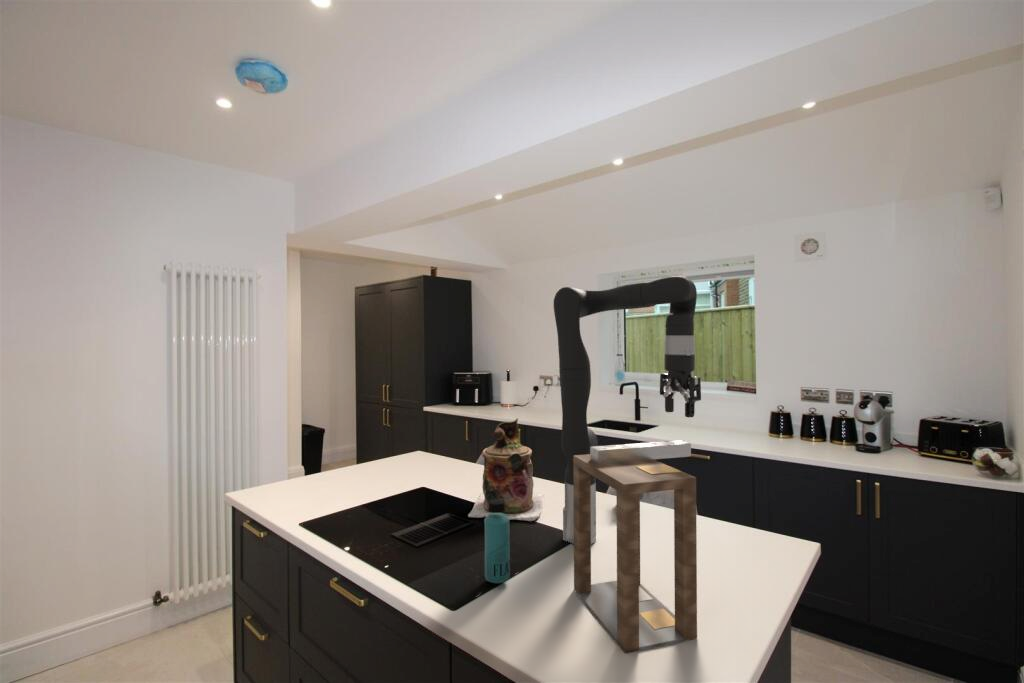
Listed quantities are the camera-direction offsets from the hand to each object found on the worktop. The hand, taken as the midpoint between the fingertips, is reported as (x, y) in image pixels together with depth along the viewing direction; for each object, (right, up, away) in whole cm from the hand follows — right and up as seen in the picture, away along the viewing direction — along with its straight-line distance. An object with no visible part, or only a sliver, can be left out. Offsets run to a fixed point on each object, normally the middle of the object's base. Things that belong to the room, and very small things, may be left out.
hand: (679, 414), depth 124 cm
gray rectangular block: (-14, -8, -15) cm, 22 cm away
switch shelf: (-18, -40, -21) cm, 49 cm away
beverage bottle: (-48, -40, -8) cm, 63 cm away
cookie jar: (-45, -41, +44) cm, 75 cm away
